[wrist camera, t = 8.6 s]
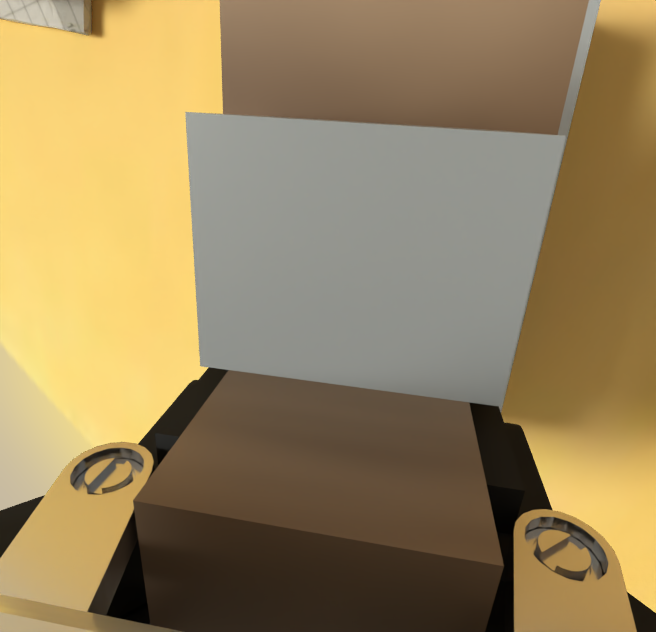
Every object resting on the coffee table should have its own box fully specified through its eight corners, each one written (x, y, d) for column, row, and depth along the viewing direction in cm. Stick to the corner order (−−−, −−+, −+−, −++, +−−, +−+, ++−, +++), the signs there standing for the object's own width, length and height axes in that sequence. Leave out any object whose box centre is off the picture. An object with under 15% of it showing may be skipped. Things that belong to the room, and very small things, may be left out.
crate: (266, 116, 10) (185, 112, 6) (505, 131, 9) (566, 135, 6) (266, 290, 12) (200, 366, 8) (470, 312, 11) (500, 407, 7)
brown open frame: (267, -34, 12) (-294, -646, 2) (552, -28, 11) (1440, -957, 2) (265, 519, 19) (125, 901, 10) (435, 549, 18) (462, 1000, 9)
